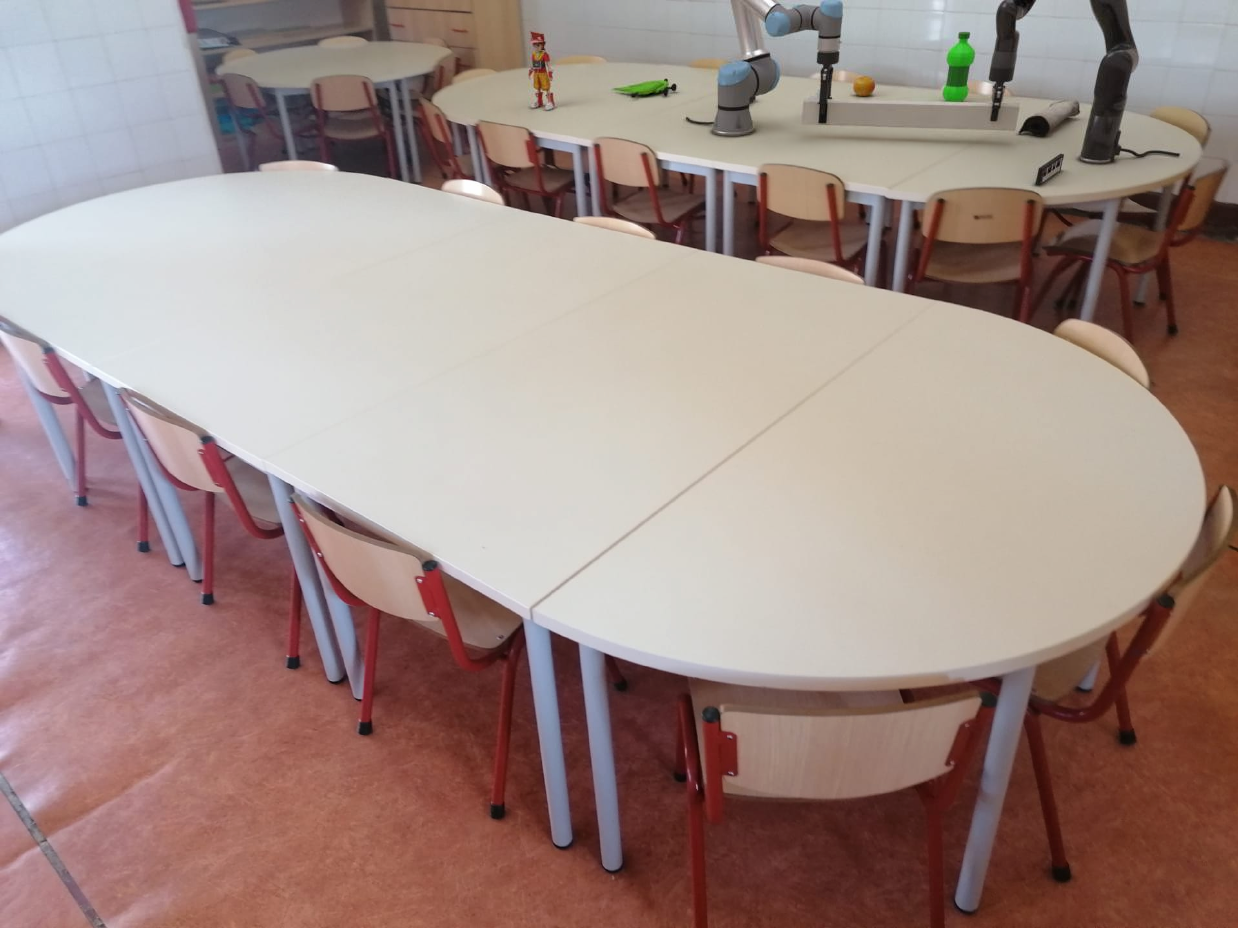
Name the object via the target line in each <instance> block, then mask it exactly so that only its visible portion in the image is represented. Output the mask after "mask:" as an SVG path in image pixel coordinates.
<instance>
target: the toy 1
mask: <svg viewBox="0 0 1238 928" xmlns="http://www.w3.org/2000/svg"><path fill="white" fill-rule="evenodd" d="M529 33H530V35H531V36H528V37H527V38H528V39H529V40H528V41H527V43H529V44H530V43H531V44H532V48H533V50H534V51H533V52H532V55H531V58H530V59H531V63H530V66H528V74H527V75H528V76H527V77H528V79H529V80H531V75H532V74H533V84H532V85H533V86H532V87H533V88H534V89H535V90H536V92H534V95H535V97H536V100H535V101H533V102H531V105H530V108H531V109H535V108H538V107H542V106H544V101H543V100H544V99H543V95H544V92H546V94H545V97H546V99H547V103H546V104H545V106H544V110H546V111H549V110H553V109H554V107H555V106H556V105H555V99H554V92H551V91H550V90H551V86H552V84H551V82H552V81H553V80H554V77H553V73H554V71H555V70H554V69H552V68H551V63H550V61H551V59H550V58H551V57H550V54H549V53H548V52H547V50H546V48H545V46H546V44H547V41H545V35H544V33H543V32H542V33H539V32H535V31H529Z"/></svg>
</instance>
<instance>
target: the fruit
mask: <svg viewBox="0 0 1238 928" xmlns="http://www.w3.org/2000/svg"><path fill="white" fill-rule="evenodd" d="M852 87H853V92H854V93H855V94H856V95H857V96H859V97H866V96H870V95H871V94H872V93H873V92H874V91H875V88H876V82H875V80H874V79H873V78H871V77H870V76H861V77H858V78H856V80H855V81H854V83H853V86H852Z"/></svg>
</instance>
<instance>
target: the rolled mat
mask: <svg viewBox="0 0 1238 928" xmlns="http://www.w3.org/2000/svg"><path fill="white" fill-rule="evenodd" d="M1080 113H1081V110H1080V102H1079V101H1078V100H1071V99H1069V100H1068V99H1067V100H1060V101H1055V102H1052V103H1050V105H1049V106H1048V107H1046V108H1043V109H1042V110H1040V111H1038V112H1036V113H1034V114H1032V115H1030V116H1028V117H1027V118H1026V119H1025V120H1024V122H1023V124H1022V126H1021V128H1020V129H1019V131H1018V134H1019V135H1020V134H1023V133H1030V134H1031V135H1033V136H1037V137H1045V136H1048V135H1049V134H1050V132H1051V131H1053V129H1055V127H1056V126H1057V125H1059V124H1060V123H1061V122H1063V121H1064V120H1065V119H1066V118H1071V117H1076V116H1078V115H1080Z"/></svg>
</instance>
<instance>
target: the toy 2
mask: <svg viewBox="0 0 1238 928" xmlns="http://www.w3.org/2000/svg"><path fill="white" fill-rule="evenodd" d="M669 85H670V83H669V79H668V78H664V79H663V80H649V81H644V82H640V83H634V84H629V85H627V86H621V87H613V88H612V89H613V90H616V91H619V92H623V93H627V94H628V93H629V94H631V95H630V96H631V98H632V99H634V98H636V96H637V95H650V94H652V93H654V94H658V93H662V95H663V96H665V97H667V96H668V95H669V90H671V91H672V92H676V91H677V84H676V83H672V84H671V86H669Z"/></svg>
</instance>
